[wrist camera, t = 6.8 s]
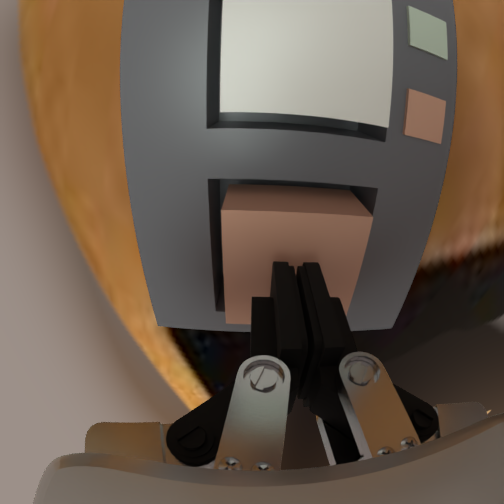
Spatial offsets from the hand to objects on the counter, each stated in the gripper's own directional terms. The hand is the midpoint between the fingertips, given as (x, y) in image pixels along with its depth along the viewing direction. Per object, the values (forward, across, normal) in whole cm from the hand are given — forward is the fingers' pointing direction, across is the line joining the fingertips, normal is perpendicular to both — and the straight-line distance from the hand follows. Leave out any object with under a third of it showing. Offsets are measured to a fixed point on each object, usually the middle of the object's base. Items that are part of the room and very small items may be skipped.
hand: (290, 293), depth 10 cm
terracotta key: (+4, 0, 0) cm, 4 cm away
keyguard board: (+7, 0, -9) cm, 11 cm away
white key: (+4, 0, -9) cm, 10 cm away
